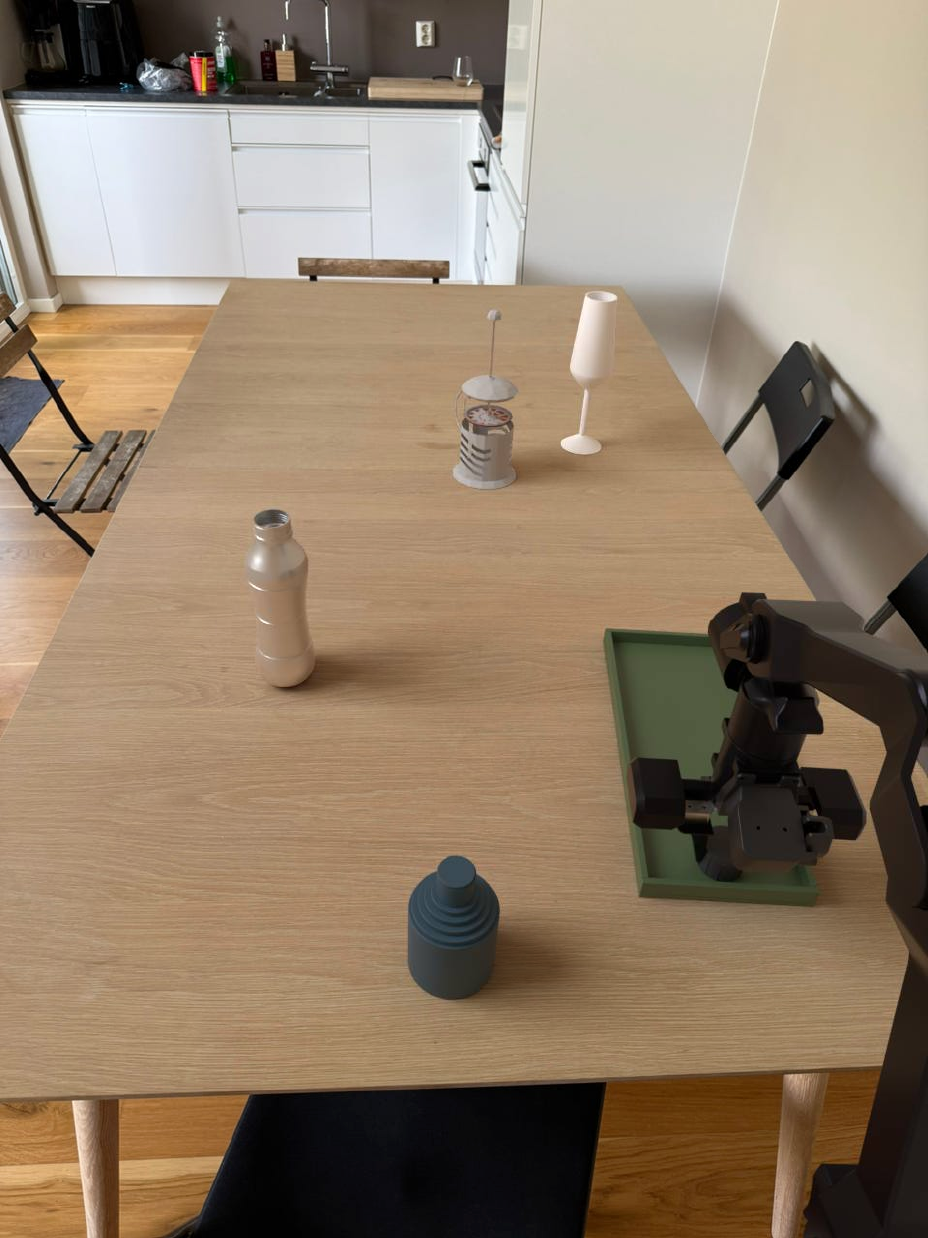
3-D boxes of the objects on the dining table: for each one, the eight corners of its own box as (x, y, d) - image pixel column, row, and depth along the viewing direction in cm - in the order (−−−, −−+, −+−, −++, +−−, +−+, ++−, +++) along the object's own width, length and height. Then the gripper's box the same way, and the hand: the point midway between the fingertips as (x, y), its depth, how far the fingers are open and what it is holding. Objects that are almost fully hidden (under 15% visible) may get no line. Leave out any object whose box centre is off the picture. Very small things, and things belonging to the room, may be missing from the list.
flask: (507, 984, 70) (518, 897, 63) (422, 1011, 68) (425, 924, 61) (476, 911, 75) (484, 823, 68) (397, 933, 73) (396, 845, 66)
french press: (480, 495, 131) (490, 327, 115) (432, 464, 138) (436, 302, 122) (529, 477, 136) (545, 313, 120) (481, 448, 143) (490, 290, 127)
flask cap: (694, 842, 81) (701, 822, 80) (739, 848, 81) (747, 828, 79) (698, 879, 78) (705, 859, 77) (745, 885, 78) (753, 865, 76)
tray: (813, 906, 77) (820, 893, 76) (638, 896, 77) (642, 883, 76) (731, 648, 105) (735, 635, 104) (603, 641, 105) (605, 627, 104)
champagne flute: (555, 449, 144) (572, 298, 129) (567, 432, 149) (585, 286, 134) (595, 458, 142) (617, 306, 127) (606, 441, 147) (629, 293, 132)
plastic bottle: (248, 690, 96) (226, 532, 83) (269, 651, 101) (251, 497, 89) (306, 699, 95) (292, 541, 83) (324, 658, 100) (314, 505, 88)
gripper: (659, 808, 63) (626, 934, 73) (921, 823, 63) (853, 947, 73) (641, 701, 72) (613, 826, 82) (870, 714, 72) (815, 837, 82)
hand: (720, 859), depth 79 cm, fingers closed on flask cap, 4 cm apart
